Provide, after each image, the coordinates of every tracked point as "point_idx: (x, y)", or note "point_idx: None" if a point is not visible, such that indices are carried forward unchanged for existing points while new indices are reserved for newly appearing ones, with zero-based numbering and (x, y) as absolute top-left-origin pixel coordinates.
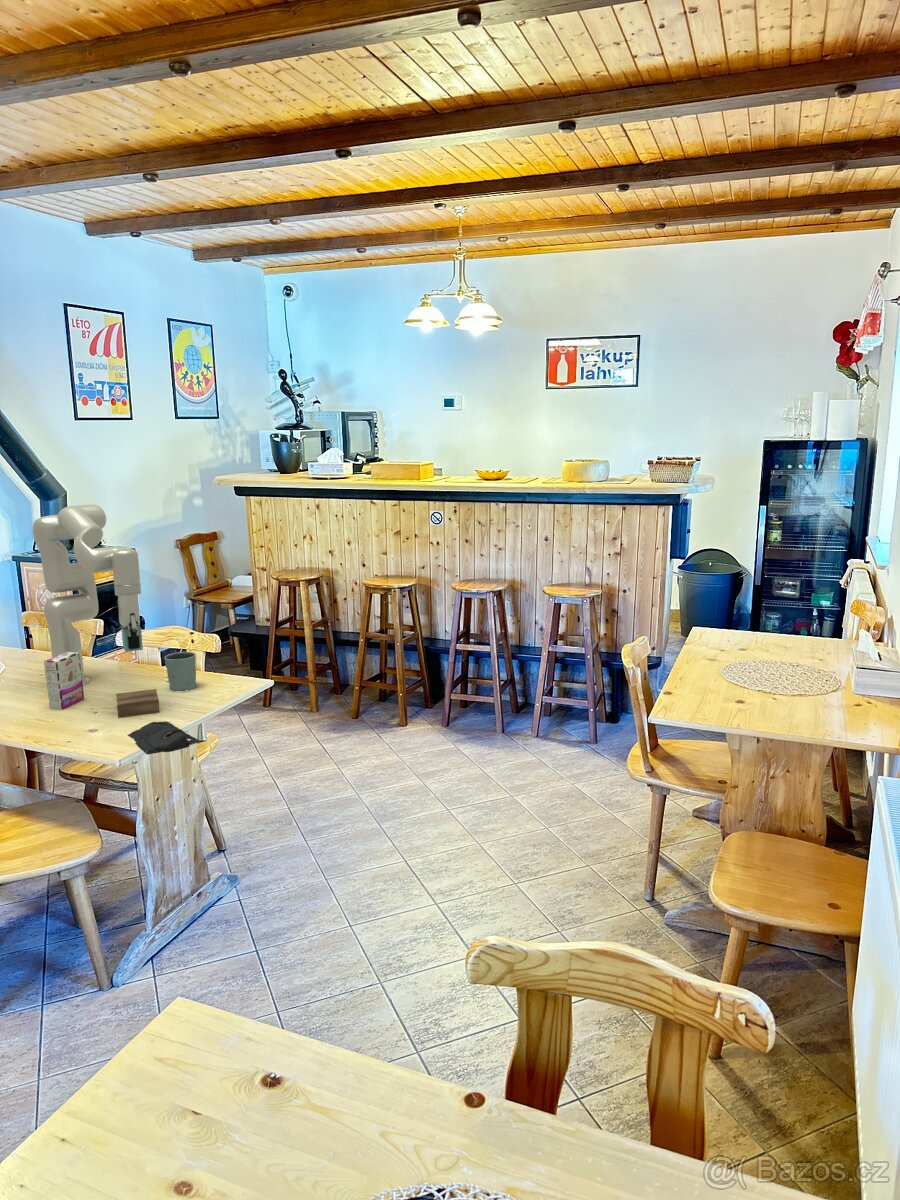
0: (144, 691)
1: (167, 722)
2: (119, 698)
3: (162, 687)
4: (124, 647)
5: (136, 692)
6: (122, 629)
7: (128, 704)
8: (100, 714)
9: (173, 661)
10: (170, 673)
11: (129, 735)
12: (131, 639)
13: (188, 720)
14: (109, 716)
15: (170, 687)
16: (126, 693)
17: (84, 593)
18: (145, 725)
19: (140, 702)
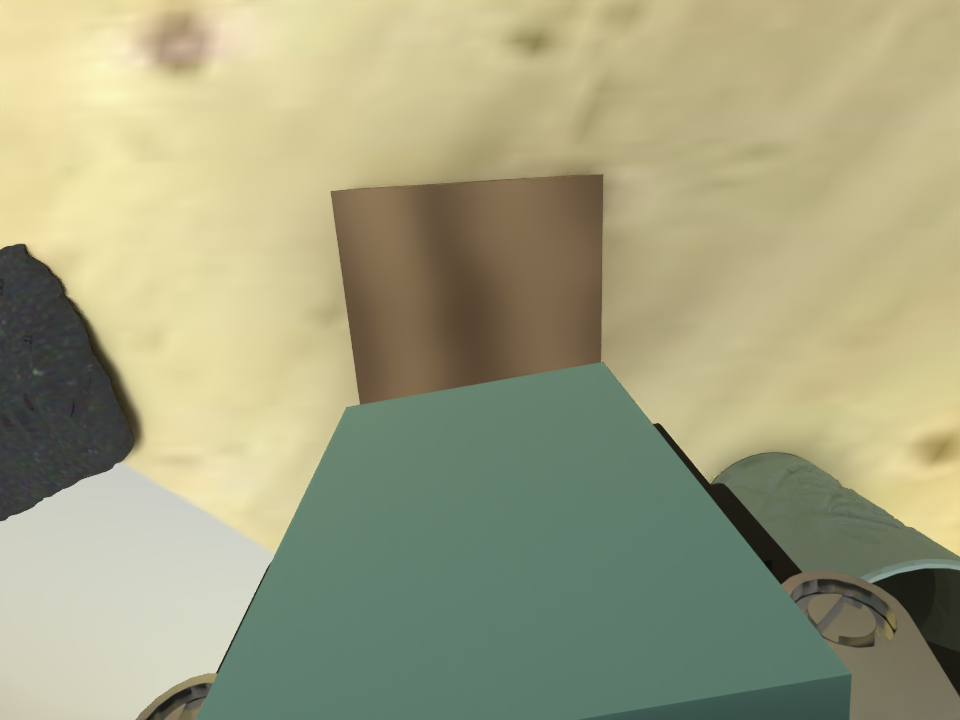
0: (575, 357)
1: (97, 458)
2: (479, 202)
3: (848, 413)
4: (442, 410)
5: (576, 309)
6: (528, 672)
7: (343, 264)
8: (483, 73)
9: None
10: (790, 522)
11: (5, 263)
12: (222, 663)
13: (233, 526)
14: (424, 133)
15: (762, 464)
16: (580, 245)
17: None
18: (32, 357)
19: (351, 337)
